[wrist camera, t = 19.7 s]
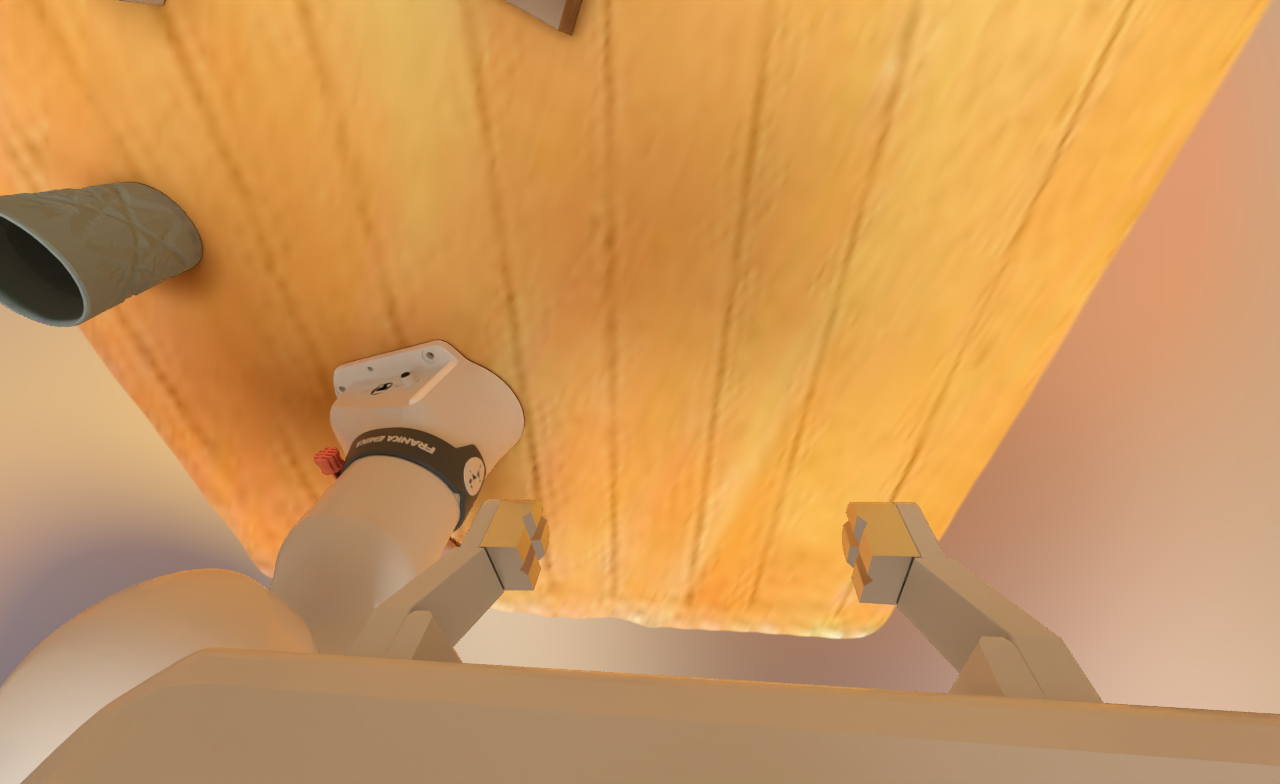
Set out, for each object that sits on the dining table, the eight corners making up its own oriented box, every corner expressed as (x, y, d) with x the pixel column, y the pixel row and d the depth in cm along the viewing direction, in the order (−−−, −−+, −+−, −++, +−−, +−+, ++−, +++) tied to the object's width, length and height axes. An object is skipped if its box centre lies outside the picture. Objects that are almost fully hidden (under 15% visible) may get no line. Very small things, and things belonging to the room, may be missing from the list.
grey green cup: (91, 154, 42) (-95, 176, 32) (206, 201, 43) (61, 235, 34) (119, 254, 48) (-32, 299, 38) (220, 292, 49) (99, 346, 39)
